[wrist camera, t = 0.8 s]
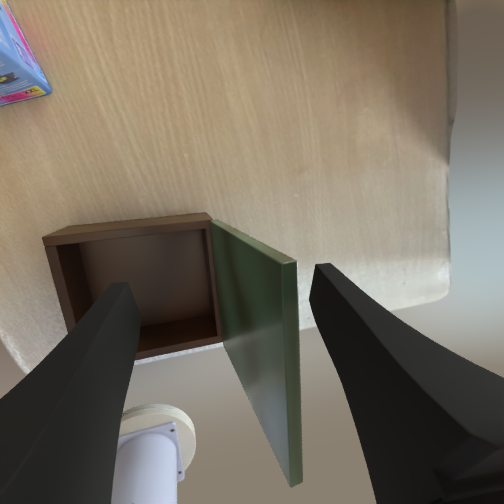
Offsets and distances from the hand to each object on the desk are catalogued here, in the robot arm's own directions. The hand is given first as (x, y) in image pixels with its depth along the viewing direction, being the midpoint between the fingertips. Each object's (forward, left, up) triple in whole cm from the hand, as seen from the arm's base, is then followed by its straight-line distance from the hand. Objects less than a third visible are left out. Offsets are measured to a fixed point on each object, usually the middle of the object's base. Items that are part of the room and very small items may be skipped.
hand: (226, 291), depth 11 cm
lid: (-5, -2, -7) cm, 9 cm away
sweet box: (-6, +5, -21) cm, 22 cm away
